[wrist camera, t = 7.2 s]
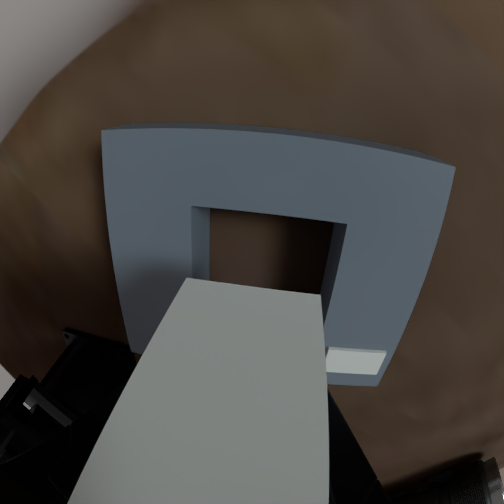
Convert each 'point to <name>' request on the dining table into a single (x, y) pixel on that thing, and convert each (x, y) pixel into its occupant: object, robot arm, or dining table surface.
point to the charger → (220, 406)
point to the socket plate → (278, 203)
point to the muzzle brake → (459, 487)
